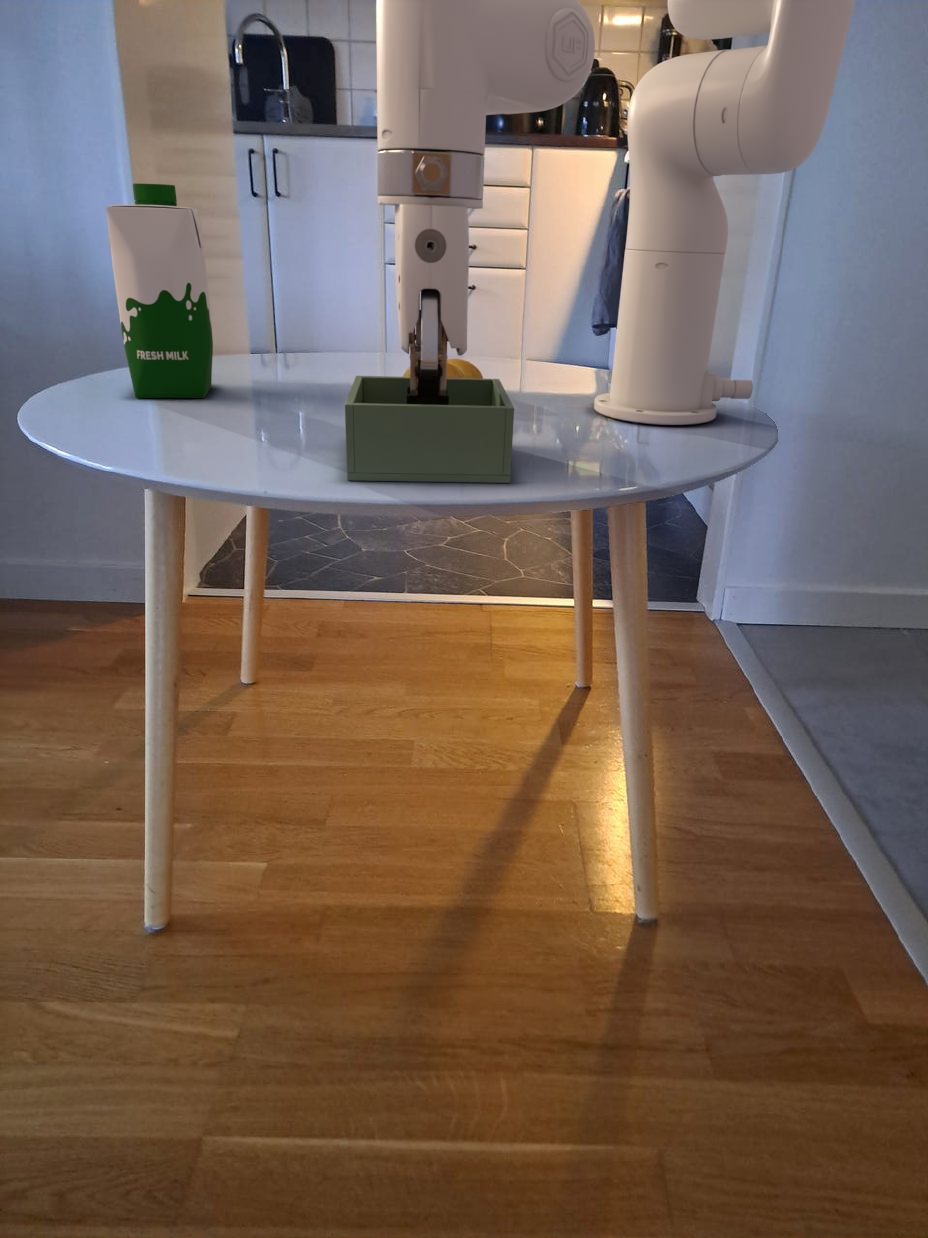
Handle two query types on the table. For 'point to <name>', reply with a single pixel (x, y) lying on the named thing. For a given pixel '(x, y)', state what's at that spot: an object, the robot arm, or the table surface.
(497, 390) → the tub
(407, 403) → the robot arm
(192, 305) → the milk carton
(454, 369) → the bread roll
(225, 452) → the table surface
